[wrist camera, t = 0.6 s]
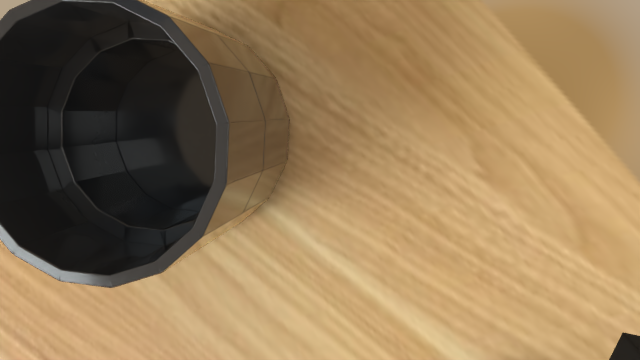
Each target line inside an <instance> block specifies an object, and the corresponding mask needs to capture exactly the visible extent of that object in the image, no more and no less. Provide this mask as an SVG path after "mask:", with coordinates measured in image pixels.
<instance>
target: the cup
mask: <svg viewBox="0 0 640 360" xmlns="http://www.w3.org/2000/svg"><path fill="white" fill-rule="evenodd" d="M289 124H290V119H289V115H288V112H287V109H286V106H285V103H284V100H283V97H282V94H281V92H280V89H279V86H278V83H277V80H276V77H275V76H274V75H273V74H272V73H271V72H270V70H269V69H268V68H267V67H266V66H265V65H264V63H263V62H262V61H261V60H260V59H259V58H258V56H257V55H256V54H255V53H254V52H253V51H252V49H251V48H250V47H248V46H247V45H245V44H243V43H241V42H239V41H237V40H235V39H233V38H231V37H229V36H227V35H225V34H223V33H221V32H219V31H217V30H215V29H213V28H211V27H208V26H206V25H203V24H201V23H198V22H196V21H193V20H191V19H188V18H186V17H183V16H181V15H178V14H176V13H174V12H171V11H169V10H166V9H164V8H161V7H159V6H156V5H154V4H151V3H149V2H146V1H144V0H30V1H28V2H26V3H24V4H21V5H19V6H17V7H15V8H12V9H11V10H9V11H8V12H7V13H6V14H5V15H4V17H3V18H2V19H1V20H0V240H1V241H2V242H3V243H4V244H5V246H6V247H7V248H8V249H9V250H10V252H11V253H12V254H14V255H15V256H17V257H18V258H20V259H22V260H24V261H25V262H27V263H29V264H31V265H32V266H34V267H36V268H38V269H39V270H41V271H43V272H45V273H46V274H48V275H50V276H52V277H53V278H55V279H57V280H59V281H62V282H70V283H77V284H85V285H93V286H101V287H108V288H112V287H117V286H120V285H123V284H127V283H130V282H133V281H137V280H140V279H143V278H147V277H150V276H153V275H157V274H160V273H162V272H164V271H166V270H167V269H169V268H170V267H172V266H173V265H175V264H177V263H178V262H180V261H181V260H183V259H184V258H186V257H188V256H189V255H191V254H192V253H194V252H195V251H197V250H199V249H200V248H202V247H203V246H205V245H206V244H208V243H209V242H211V241H213V240H214V239H216V238H217V237H219V236H221V235H222V234H224V233H225V232H227V231H228V230H230V229H232V228H233V227H235V226H236V225H238V224H239V223H241V222H242V221H243V220H245V219H246V218H247V217H248V216H249V215H250V214H251V213H253V212H254V211H255V210H256V209H257V208H258V207H259V206H261V205H262V204H263V203H264V202H265V201H266V200H267V199H269V197H270V196H271V194H272V192H273V190H274V187H275V185H276V183H277V181H278V179H279V177H280V175H281V173H282V171H283V169H284V167H285V164H286V162H287V159H288V141H289Z"/></svg>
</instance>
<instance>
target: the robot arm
mask: <svg viewBox="0 0 640 360" xmlns="http://www.w3.org/2000/svg"><path fill="white" fill-rule="evenodd" d="M609 360H640V336H637V335H632V334H627V333H622V335H621V337H620V339H619V341H618V343H617V345H616V347H615V349H614V351H613V353H612V355H611V357H610V359H609Z"/></svg>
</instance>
